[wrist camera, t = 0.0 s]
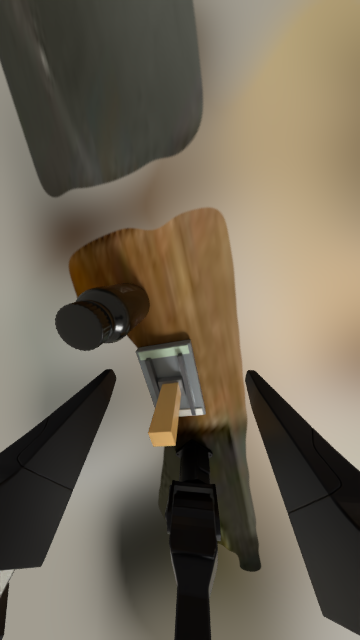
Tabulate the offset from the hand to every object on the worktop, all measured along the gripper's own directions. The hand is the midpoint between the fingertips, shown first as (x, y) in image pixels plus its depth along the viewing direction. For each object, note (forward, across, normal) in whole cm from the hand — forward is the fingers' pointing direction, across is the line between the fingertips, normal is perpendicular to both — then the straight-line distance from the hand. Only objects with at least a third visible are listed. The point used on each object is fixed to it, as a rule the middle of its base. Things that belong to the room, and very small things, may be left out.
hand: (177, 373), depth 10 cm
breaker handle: (+10, +3, +16) cm, 20 cm away
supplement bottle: (+16, +10, +2) cm, 19 cm away
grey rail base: (+12, +3, +17) cm, 21 cm away
